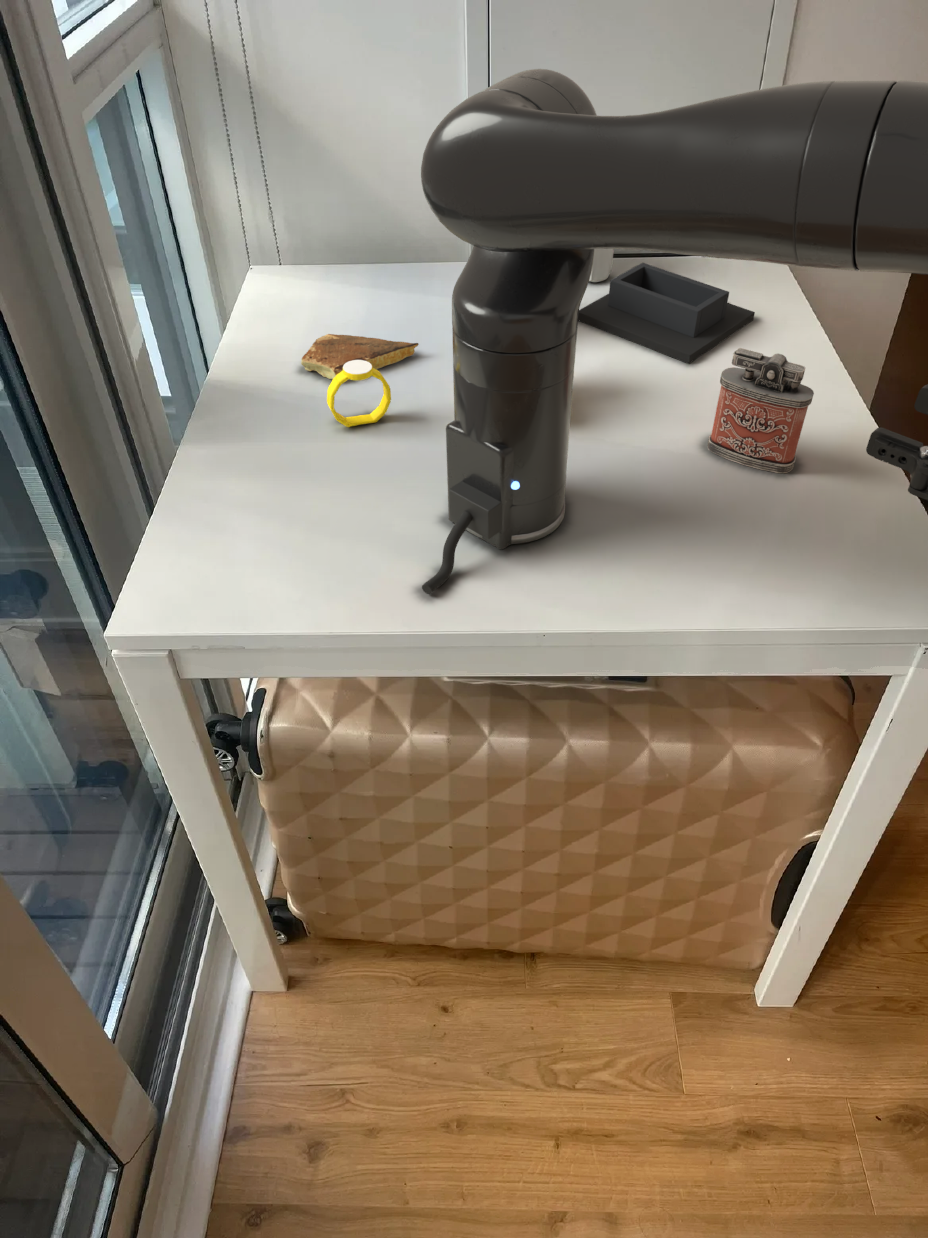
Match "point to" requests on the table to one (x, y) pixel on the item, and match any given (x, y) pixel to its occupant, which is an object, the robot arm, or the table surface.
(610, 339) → the table surface
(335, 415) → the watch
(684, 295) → the dock pad
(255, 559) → the table surface
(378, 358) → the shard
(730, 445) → the lighter
